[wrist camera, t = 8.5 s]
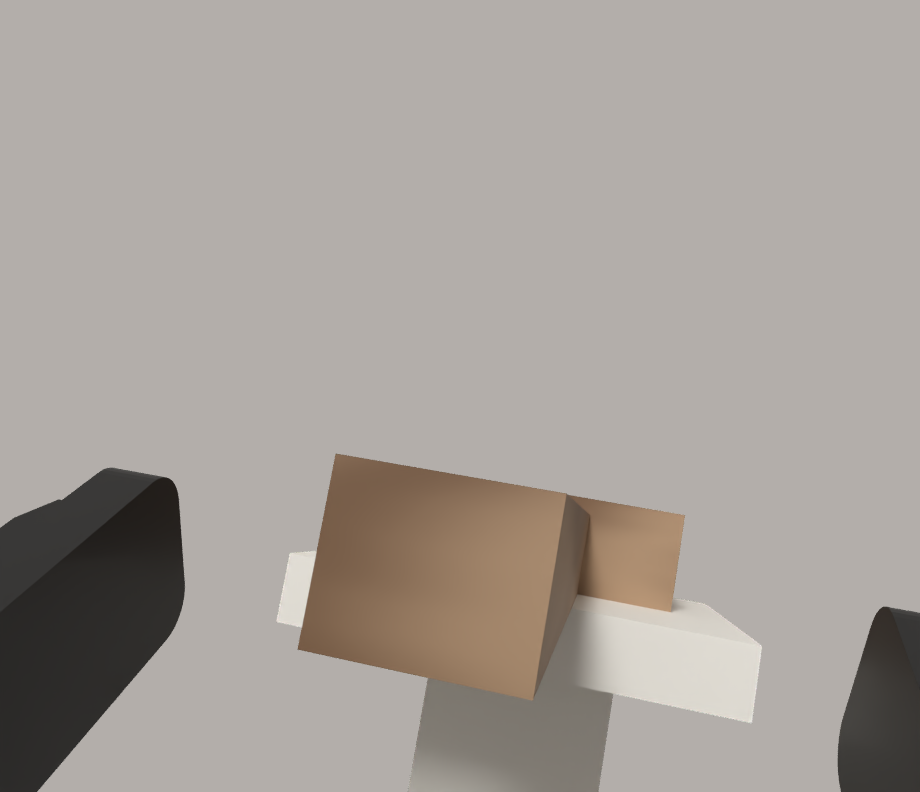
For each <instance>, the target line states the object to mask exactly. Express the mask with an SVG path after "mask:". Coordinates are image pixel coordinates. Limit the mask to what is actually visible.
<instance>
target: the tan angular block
mask: <svg viewBox="0 0 920 792" xmlns="http://www.w3.org/2000/svg"><path fill="white" fill-rule="evenodd" d="M684 518H685V515H680V514H674V513H669V512H663V511H657V510H651V509H645V508H640V507H633V506H628V505H622V504H617V503H611V502H605V501H599V500H594V499H588V498H582V497H576V496H570V495H567V494H565V493H560V492H554V491H548V490H543V489H537V488H531V487H525V486H520V485H514V484H508V483H502V482H496V481H491V480H485V479H479V478H473V477H468V476H462V475H455V474H450V473H445V472H439V471H433V470H427V469H422V468H416V467H410V466H404V465H398V464H393V463H387V462H381V461H375V460H369V459H364V458H358V457H352V456H347V455H340V454H336V455H335V461H334V465H333V471H332V476H331V481H330V486H329V491H328V496H327V501H326V506H325V512H324V517H323V522H322V527H321V532H320V538H319V543H318V547H317V553H316V558H315V563H314V568H313V573H312V578H311V583H310V589H309V594H308V599H307V604H306V609H305V614H304V619H303V625H302V630H301V635H300V640H299V645H298V650H303V651H307V652H312V653H316V654H321V655H326V656H330V657H335V658H339V659H344V660H348V661H353V662H358V663H363V664H367V665H372V666H376V667H381V668H385V669H390V670H394V671H399V672H403V673H408V674H413V675H418V676H422V677H427V678H431V679H436V680H440V681H445V682H449V683H454V684H459V685H463V686H468V687H472V688H477V689H482V690H486V691H491V692H495V693H500V694H504V695H509V696H514V697H518V698H523V699H527V700H532V701H533V699H534V697H535V695H536V692H537V690H538V687H539V685H540V683H541V680H542V678H543V675H544V673H545V671H546V668H547V666H548V664H549V661H550V659H551V656H552V654H553V652H554V649H555V647H556V644H557V642H558V640H559V637H560V635H561V632H562V630H563V628H564V625H565V623H566V621H567V618H568V616H569V613H570V611H571V609H572V606H573V604H574V601H575V599H576V597H577V594H578V595H584V596H589V597H594V598H599V599H604V600H609V601H615V602H620V603H625V604H630V605H635V606H640V607H645V608H651V609H656V610H661V611H666V612H671V607H672V600H673V593H674V586H675V579H676V572H677V565H678V559H679V551H680V545H681V538H682V532H683V525H684Z"/></svg>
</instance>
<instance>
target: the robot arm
mask: <svg viewBox="0 0 920 792" xmlns="http://www.w3.org/2000/svg"><path fill="white" fill-rule="evenodd" d="M184 592H185V581H184V567H183V554H182V538H181V525H180V510H179V498H178V492H177V488H176V486H175V484H174V483H173V481H172V480H170V479H169V478H165V477H160V476H155V475H149V474H144V473H138V472H132V471H128V470H122V469H116V468H107V469H104V470H102V471H100V472H99V473H97V474H96V475H95V476H93V477H92V478H91V479H90V480H88V481H87V482H86V483H84V484H83V485H82V486H80V487H79V488H78V489H76V490H75V491H74V492H72V493H71V494H70V495H68V496H67V497H66V498H64V499H63V500H56V501H54V502H52V503H49V504H47V505H44V506H42V507H39V508H37V509H35V510H32V511H30V512H27V513H25V514H22V515H20V516H18V517H15V518H13V519H12V520H10V521H9V522H8V523H6V524H5V525H4V526H2V527H1V528H0V792H37V791H38V790H39V789H40V788H41V786H42V785H43V784H44V783H45V782H46V781H47V779H48V778H49V777H50V776H51V775H52V773H53V772H54V771H55V770H56V769H57V768H58V767H59V765H60V764H61V763H62V762H63V761H64V759H65V758H66V757H67V756H68V755H69V754H70V752H71V751H72V750H73V749H74V748H75V747H76V745H77V744H78V743H79V742H80V741H81V739H82V738H83V737H84V736H85V735H86V734H87V732H88V731H89V730H90V729H91V728H92V727H93V725H94V724H95V723H96V722H97V721H98V720H99V718H100V717H101V716H102V715H103V714H104V712H105V711H106V710H107V709H108V707H110V705H111V704H112V703H113V702H114V701H115V700H116V698H117V697H118V696H119V695H120V694H121V693H122V691H123V690H124V689H125V688H126V687H127V686H128V684H129V683H130V682H131V681H132V680H133V678H134V677H135V676H136V675H137V673H139V671H140V670H141V669H142V668H143V667H144V666H145V664H146V663H147V662H148V660H150V659H151V657H152V656H153V655H154V654H155V653H156V651H157V650H158V649H159V648H160V647H161V646H162V644H163V643H164V642H165V641H166V640H167V638H168V637H169V636H170V634H171V632H172V631H173V629H174V627H175V625H176V623H177V621H178V618H179V615H180V612H181V609H182V605H183V600H184ZM838 775H839V783H840V788H841V792H920V613H917V612H912V611H906V610H901V609H895V608H890V607H882V608H881V609H880V610H879V611H878V612H877V614H876V615H875V617H874V620H873V622H872V625H871V628H870V631H869V635H868V638H867V641H866V645H865V648H864V651H863V654H862V658H861V661H860V664H859V667H858V671H857V674H856V677H855V680H854V684H853V687H852V690H851V693H850V697H849V700H848V703H847V707H846V710H845V713H844V716H843V720H842V724H841V729H840V736H839V744H838Z"/></svg>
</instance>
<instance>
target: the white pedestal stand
mask: <svg viewBox="0 0 920 792" xmlns="http://www.w3.org/2000/svg"><path fill="white" fill-rule="evenodd" d="M316 553H317V551H309V552H296V553H290V556H289V561H288V566H287V571H286V576H285V581H284V586H283V591H282V596H281V602H280V606H279V611H278V616H277V622H279V623H283V624H288V625H293V626H298V627H302V625H303V619H304V614H305V609H306V604H307V599H308V594H309V589H310V583H311V578H312V573H313V568H314V563H315V558H316ZM761 650H762V646H761V645H760V644H759V643H757V642H756V641H755V640H753V639H752V638H751V637H749V636H748V635H747V634H745V633H744V632H743V631H741V630H740V629H739V628H737V627H736V626H735V625H733V624H732V623H731V622H729V621H728V620H727V619H725V618H724V617H723V616H721V615H720V614H718V613H717V612H716V611H715V610H713V609H712V608H710V607H709V606H708V605H706V604H704V603H698V602H693V601H688V600H682V599H677V598H673V600H672V607H671V612H666V611H661V610H656V609H651V608H645V607H640V606H635V605H630V604H625V603H620V602H615V601H609V600H604V599H599V598H594V597H589V596H584V595H578V594H577V597H576V599H575V601H574V604H573V606H572V609H571V611H570V613H569V616H568V618H567V621H566V623H565V625H564V628H563V630H562V632H561V635H560V637H559V640H558V642H557V644H556V647H555V649H554V652H553V654H552V656H551V659H550V661H549V664H548V666H547V668H546V671H545V673H544V675H543V678H542V680H541V683H540V685H539V687H538V690H537V692H536V695H535V697H534V699H533V701H532V700H527V699H523V698H518V697H514V696H509V695H504V694H500V693H495V692H491V691H486V690H482V689H477V688H472V687H468V686H463V685H459V684H454V683H449V682H445V681H440V680H436V679H431V678H428V681H427V687H426V692H425V698H424V703H423V709H422V714H421V720H420V726H419V731H418V737H417V743H416V749H415V754H414V760H413V766H412V771H411V777H410V782H409V788H408V792H598V790H599V784H600V777H601V770H602V764H603V757H604V750H605V744H606V737H607V731H608V724H609V718H610V711H611V705H612V698H613V694H617V695H622V696H626V697H631V698H636V699H641V700H645V701H650V702H655V703H660V704H664V705H669V706H674V707H678V708H683V709H688V710H692V711H697V712H702V713H706V714H712V715H716V716H720V717H725V718H730V719H735V720H739V721H744V722H749V723H752V717H753V710H754V702H755V695H756V688H757V680H758V672H759V665H760V658H761Z"/></svg>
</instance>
